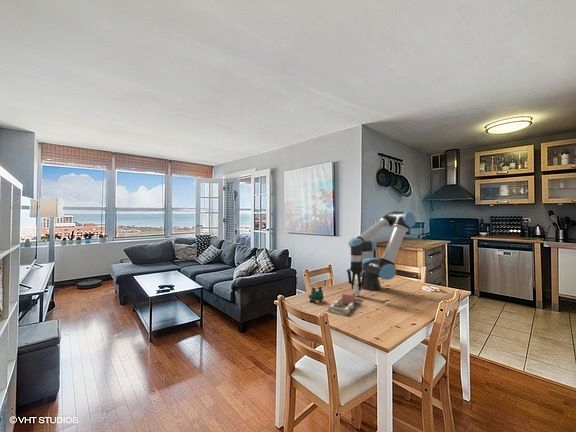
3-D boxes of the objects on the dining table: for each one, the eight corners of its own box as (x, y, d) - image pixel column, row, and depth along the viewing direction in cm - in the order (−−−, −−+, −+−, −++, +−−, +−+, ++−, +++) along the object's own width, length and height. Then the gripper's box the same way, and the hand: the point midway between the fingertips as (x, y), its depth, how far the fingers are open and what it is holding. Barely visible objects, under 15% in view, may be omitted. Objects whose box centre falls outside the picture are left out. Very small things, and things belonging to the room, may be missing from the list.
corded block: (352, 294, 183) (352, 282, 183) (361, 295, 180) (361, 284, 180) (342, 303, 164) (342, 290, 164) (351, 305, 161) (351, 292, 161)
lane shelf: (343, 298, 178) (343, 292, 178) (363, 301, 171) (363, 295, 171) (326, 312, 153) (326, 306, 153) (349, 318, 145) (349, 311, 145)
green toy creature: (318, 284, 177) (324, 287, 167) (319, 300, 176) (325, 304, 166) (306, 285, 174) (311, 288, 165) (306, 301, 174) (312, 305, 164)
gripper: (343, 260, 180) (343, 294, 181) (366, 263, 172) (366, 297, 173) (347, 258, 187) (347, 291, 187) (369, 261, 179) (369, 294, 179)
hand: (356, 294), depth 180 cm, fingers closed on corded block, 2 cm apart
